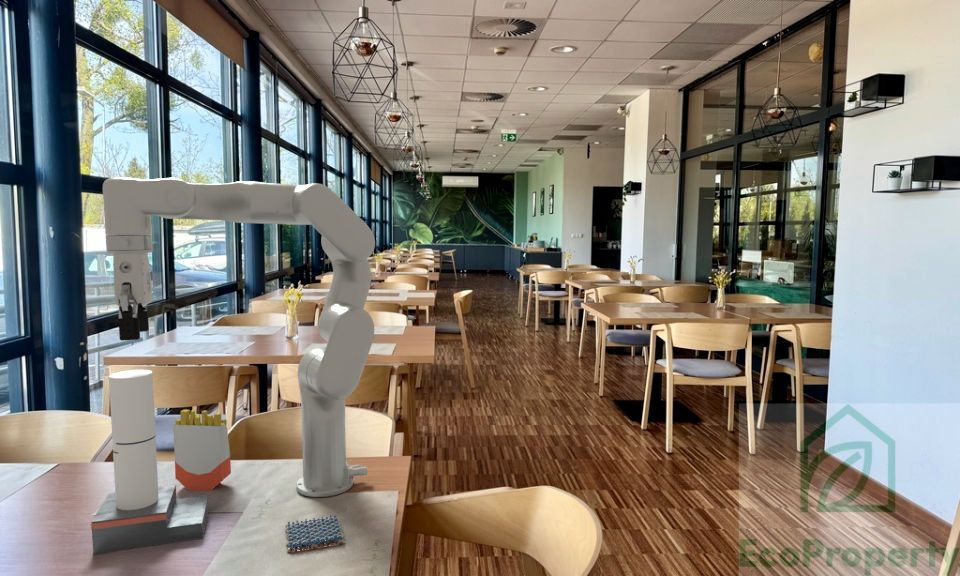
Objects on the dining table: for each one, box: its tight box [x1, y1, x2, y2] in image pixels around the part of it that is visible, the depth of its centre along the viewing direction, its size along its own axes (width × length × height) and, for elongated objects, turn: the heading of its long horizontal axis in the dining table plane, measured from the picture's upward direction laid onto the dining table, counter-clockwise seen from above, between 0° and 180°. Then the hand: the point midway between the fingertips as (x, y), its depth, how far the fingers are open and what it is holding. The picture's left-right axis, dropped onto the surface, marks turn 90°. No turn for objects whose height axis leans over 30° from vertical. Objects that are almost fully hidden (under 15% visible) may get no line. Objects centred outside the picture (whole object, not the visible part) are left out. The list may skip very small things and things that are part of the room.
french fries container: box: [172, 409, 232, 491], centre depth 139 cm, size 5×11×18 cm, turn 85°
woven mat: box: [284, 514, 346, 553], centre depth 117 cm, size 10×11×2 cm
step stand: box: [90, 484, 210, 555], centre depth 119 cm, size 18×13×6 cm
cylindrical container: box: [108, 369, 159, 510], centre depth 117 cm, size 7×7×25 cm
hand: (135, 335), depth 117 cm, fingers open, 9 cm apart
